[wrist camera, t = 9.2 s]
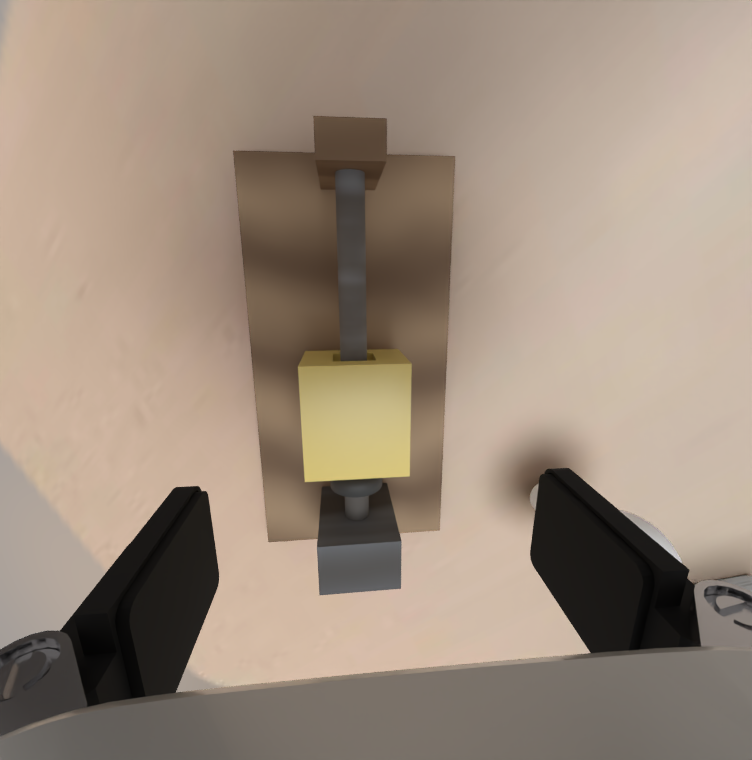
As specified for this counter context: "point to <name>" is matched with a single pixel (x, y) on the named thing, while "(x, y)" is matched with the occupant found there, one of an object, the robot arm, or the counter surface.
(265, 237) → the cable rail
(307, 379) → the sleeve
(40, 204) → the counter surface
